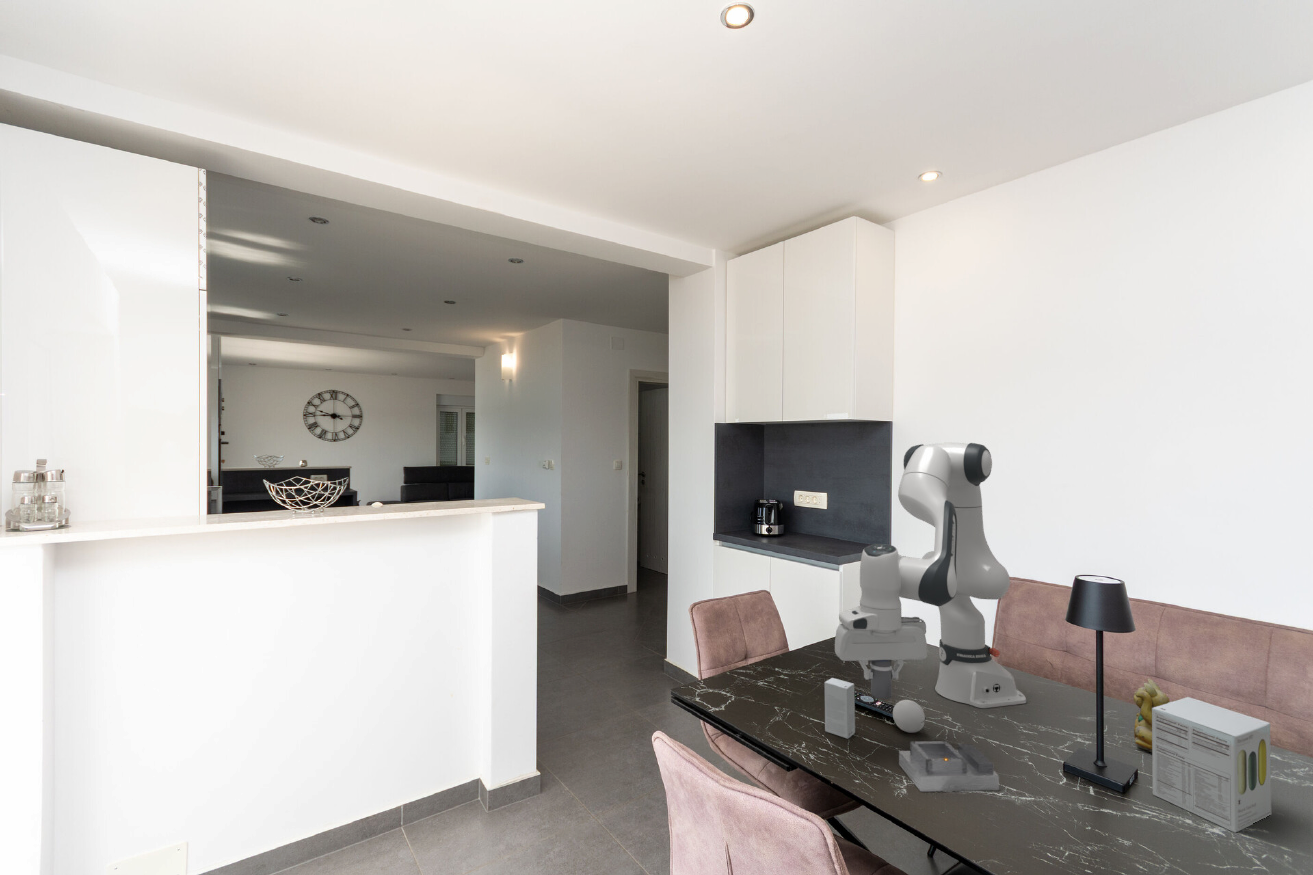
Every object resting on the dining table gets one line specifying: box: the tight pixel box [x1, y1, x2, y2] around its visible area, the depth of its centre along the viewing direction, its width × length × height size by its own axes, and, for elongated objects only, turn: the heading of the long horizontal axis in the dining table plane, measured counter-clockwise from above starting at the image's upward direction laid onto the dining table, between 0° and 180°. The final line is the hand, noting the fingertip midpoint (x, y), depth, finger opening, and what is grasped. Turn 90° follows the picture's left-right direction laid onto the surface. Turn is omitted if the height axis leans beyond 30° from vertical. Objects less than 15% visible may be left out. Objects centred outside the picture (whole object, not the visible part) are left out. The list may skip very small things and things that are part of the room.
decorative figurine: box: [1133, 678, 1171, 753], centre depth 136 cm, size 10×8×15 cm
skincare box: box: [824, 677, 856, 739], centre depth 144 cm, size 6×4×12 cm
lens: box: [869, 660, 893, 700], centre depth 135 cm, size 5×5×8 cm
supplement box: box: [1151, 696, 1272, 834], centre depth 115 cm, size 13×13×18 cm
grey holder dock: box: [898, 740, 1000, 793], centre depth 125 cm, size 16×10×6 cm, turn 91°
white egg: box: [892, 699, 927, 734], centre depth 146 cm, size 10×7×7 cm
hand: (881, 678), depth 135 cm, fingers closed on lens, 4 cm apart
